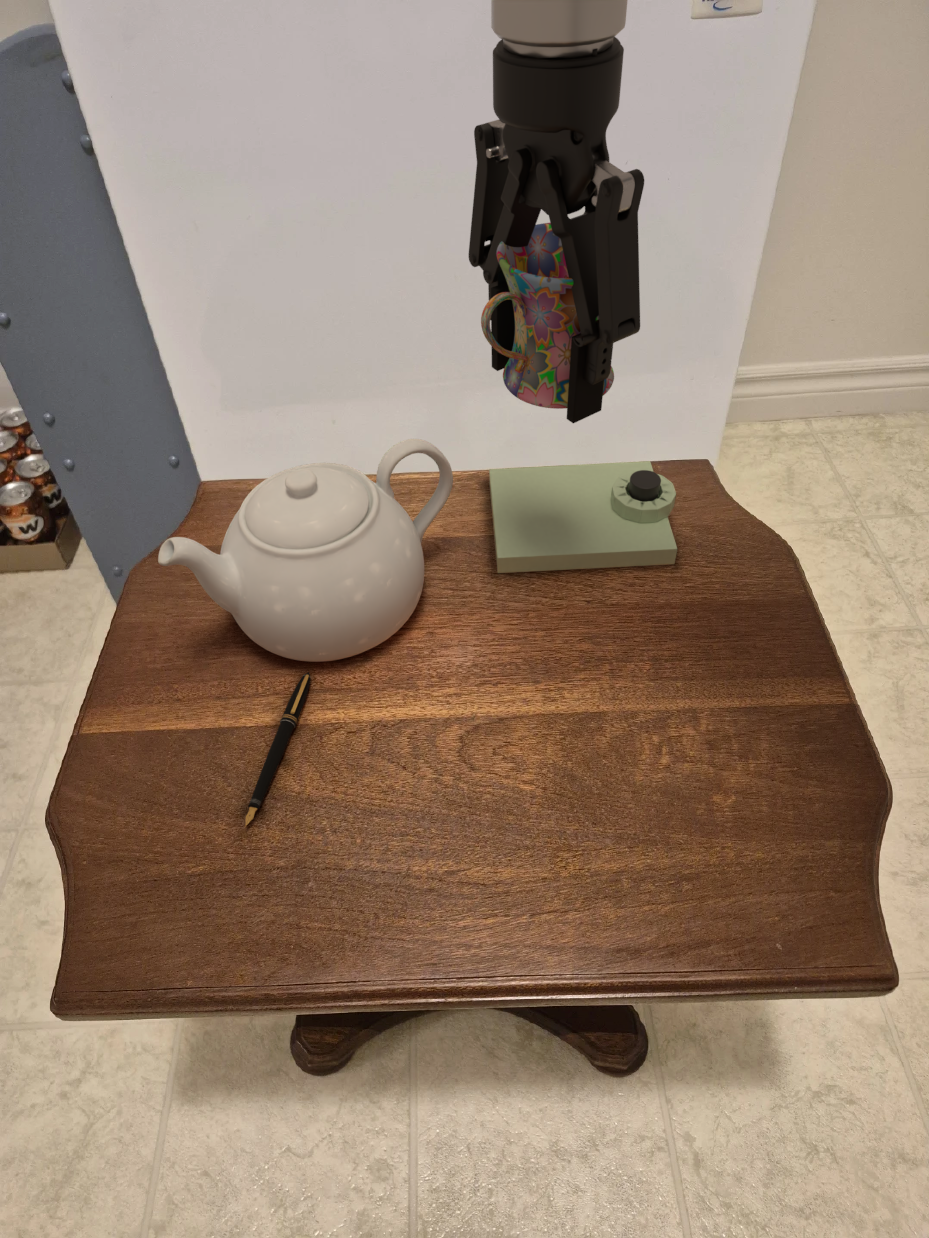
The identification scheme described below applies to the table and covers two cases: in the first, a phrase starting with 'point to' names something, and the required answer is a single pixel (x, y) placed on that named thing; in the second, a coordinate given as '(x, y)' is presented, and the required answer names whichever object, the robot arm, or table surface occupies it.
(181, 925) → the table surface
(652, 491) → the button
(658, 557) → the scale
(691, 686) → the table surface
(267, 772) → the fountain pen
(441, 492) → the teapot
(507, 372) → the mug
